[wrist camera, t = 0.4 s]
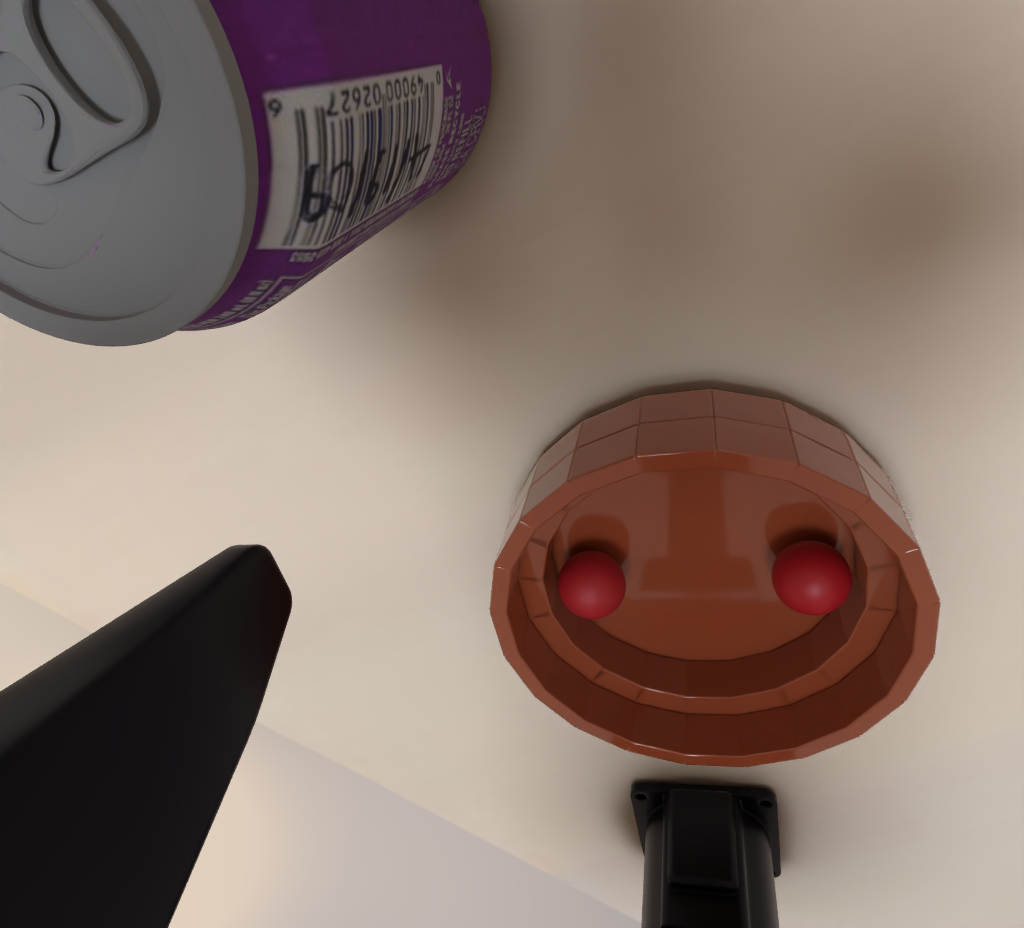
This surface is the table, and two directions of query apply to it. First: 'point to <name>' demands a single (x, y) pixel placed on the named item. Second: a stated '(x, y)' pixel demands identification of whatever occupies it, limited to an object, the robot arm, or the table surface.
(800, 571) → the berry
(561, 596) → the berry
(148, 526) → the table surface
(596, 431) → the bowl
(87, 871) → the robot arm
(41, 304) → the beverage can
